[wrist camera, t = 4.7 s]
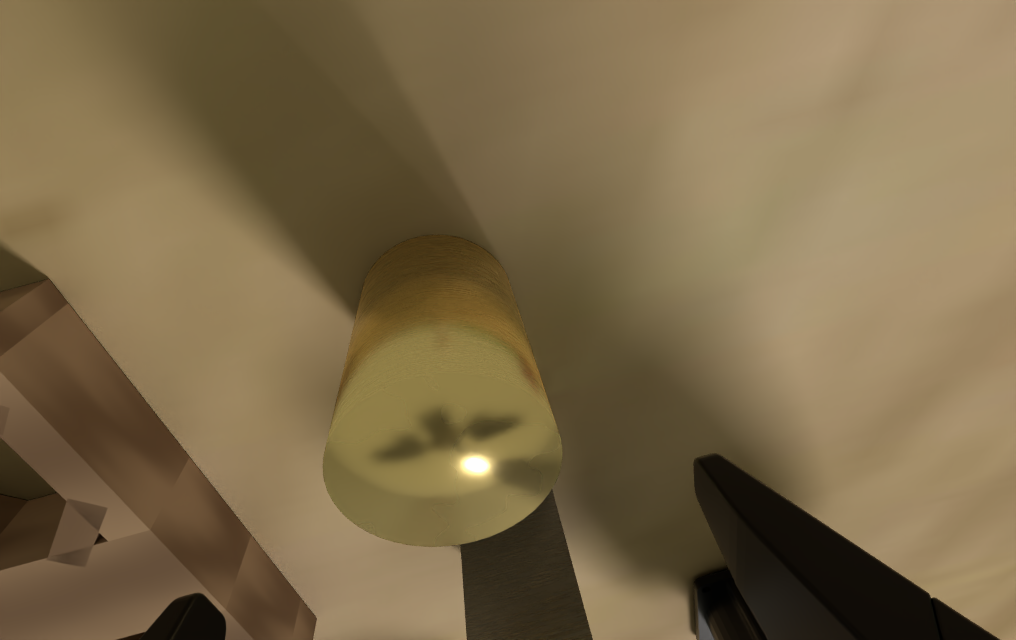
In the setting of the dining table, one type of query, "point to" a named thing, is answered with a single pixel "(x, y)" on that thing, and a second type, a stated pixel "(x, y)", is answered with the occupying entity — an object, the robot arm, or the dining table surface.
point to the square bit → (523, 582)
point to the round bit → (440, 402)
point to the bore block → (112, 500)
